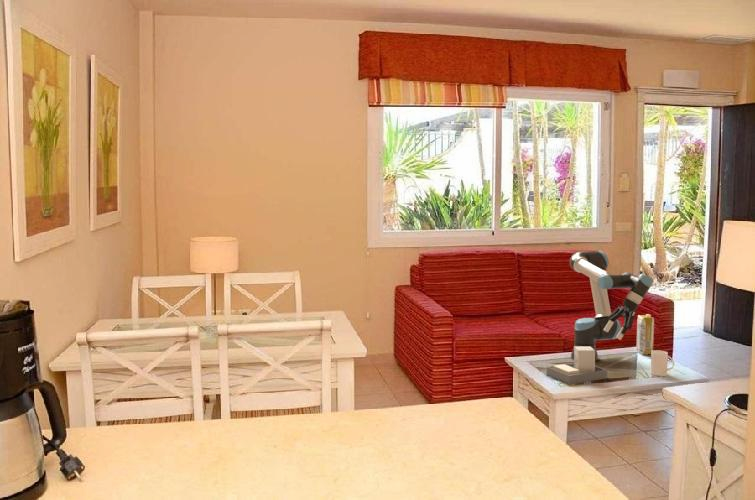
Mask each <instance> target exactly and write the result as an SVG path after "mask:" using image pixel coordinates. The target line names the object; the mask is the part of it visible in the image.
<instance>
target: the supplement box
mask: <svg viewBox="0 0 755 500" xmlns="http://www.w3.org/2000/svg"><path fill="white" fill-rule="evenodd" d="M573 348H574V359H573V363H574V368H575V369H578V370H579V374H581V373H588V372H594V371H595V366H596V361H595V350H594V349H593V348H592V347H590V346H573Z"/></svg>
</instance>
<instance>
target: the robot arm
mask: <svg viewBox="0 0 755 500" xmlns="http://www.w3.org/2000/svg"><path fill="white" fill-rule="evenodd" d="M609 263H610V261H609V257H608V255H607V254H606V253H605V252H604V251H603V250H586V251H584V250H583V251H582V250H581V251H577V252H574V253H573V254H572V255H571V257H569V266H570V268H571V269H572V270H573V271H575V272H577V273H580V274H581V273H582V274H583V275H585V276H586V277H588V278H589V281H590V288H591V293H592V299H593V305H594V311H595V316H594V317H583V318H578V319H577V320H576V321H575V323H574V346H590V347H592V348H593V349H594V350H595V362H596V361H598V360H599V354H598V352H597V348H596V341H606V340H607V341H611V340H616V339H618V340H620V341H621V340H622V338H623V337H624V335H625V334H626V333H627V331H628V330H630V331H631V330H632V327H633V325H634V324H633V323H634V319H635V317H636V315H637V313H636V312H635V311H637V309H638V308H639V305H640V304H641V302H642V301H643V299H644V298H645V296H646V294H647V293H648V291H649V290H650V288H651V287H652V285H653V283H654V279H653V278H652V277H650V276H649V275H647V274H645V273H641V274H639V276H637V275H635V274H633V273H631V272H624V273H622V274H611V273H609V272H607V269H608V267H609ZM612 289H613V290H614V289H630V290H629V292H628V294H627V295H626V298H625V299H624V300H623V302H622V304H619V305H618V306H617V307H616V309H614V311H613V312H611V310H612V309H611V305H610V300H609V294H608V290H612ZM622 305H623V306H622ZM621 317H624V319H623V320H624V321H623V325H622V326H621V323H620V321H619V320H618V319H619V318H621ZM574 346H573V348H572V351H571V353H570V358H571V357H572V358H573V359H572V358H571V359H572V360H574Z"/></svg>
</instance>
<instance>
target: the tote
mask: <svg viewBox="0 0 755 500" xmlns="http://www.w3.org/2000/svg"><path fill="white" fill-rule="evenodd" d="M564 364H565V365H567V366H570V367H573V368H574V362H571V363H564ZM553 366H554V365H549V366H546V376H548V377H551V378H553V379H556V380H557V381H559V382H563V383H565V384H568V385H573V384H580V383H586V382H593V381H598V380H599V381H600V380H605V379H608V369H605V368H603V367H601V366H597V365H595V371H594V372H588V373H581V374H574V375H568V374H565V373H563V372H560V371H558V370H555V369H553Z"/></svg>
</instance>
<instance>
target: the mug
mask: <svg viewBox="0 0 755 500" xmlns="http://www.w3.org/2000/svg"><path fill="white" fill-rule="evenodd" d="M668 354H669V353H668V351H664V350H660V349H658V350H657V349H656V350H655V349H653V351H651V355H650V356H651V358H650V359H651V360H650V372H649V373H650V374H651V375H653V376H657V377H666V376H668V371H671V370H672V369H673V368H674V366H675V361H674V359H673V358H672V357H671V356H669V355H668ZM668 359H670V360H671V361H672V366H671V367H668Z"/></svg>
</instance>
